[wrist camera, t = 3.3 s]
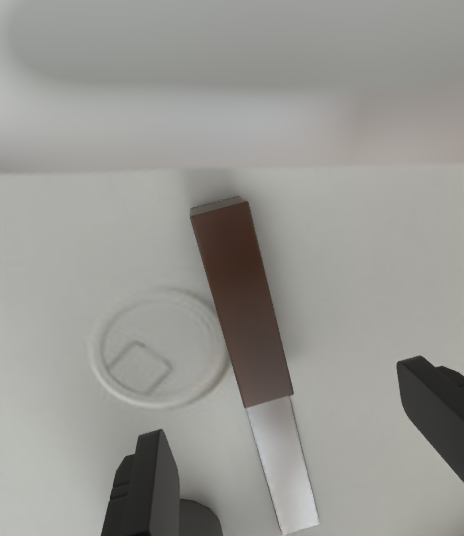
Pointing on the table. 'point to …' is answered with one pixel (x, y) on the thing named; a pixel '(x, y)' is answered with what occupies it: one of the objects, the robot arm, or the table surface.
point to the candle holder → (197, 520)
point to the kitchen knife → (255, 352)
